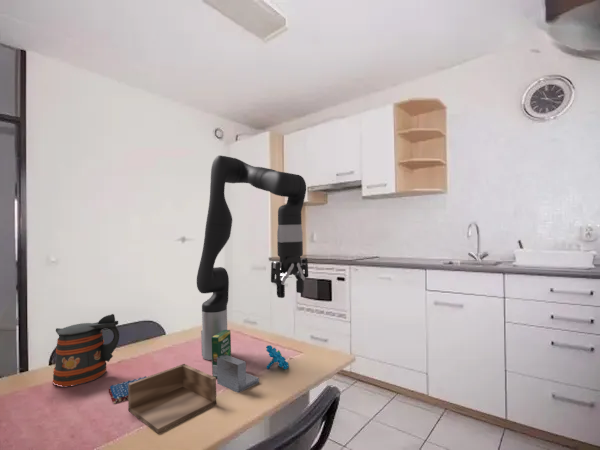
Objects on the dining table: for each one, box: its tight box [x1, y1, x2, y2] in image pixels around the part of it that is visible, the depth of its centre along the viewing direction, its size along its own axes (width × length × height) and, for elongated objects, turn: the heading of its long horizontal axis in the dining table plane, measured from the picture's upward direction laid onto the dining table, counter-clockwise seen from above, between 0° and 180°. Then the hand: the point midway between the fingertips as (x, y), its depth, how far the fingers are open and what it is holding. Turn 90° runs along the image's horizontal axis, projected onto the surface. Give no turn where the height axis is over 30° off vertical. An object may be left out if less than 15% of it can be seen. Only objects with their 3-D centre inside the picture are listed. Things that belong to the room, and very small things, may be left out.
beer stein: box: [52, 313, 120, 386], centre depth 106 cm, size 19×15×20 cm
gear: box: [266, 344, 290, 370], centre depth 108 cm, size 11×6×10 cm
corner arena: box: [127, 363, 217, 434], centre depth 85 cm, size 16×16×7 cm
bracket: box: [216, 355, 260, 394], centre depth 98 cm, size 10×8×8 cm
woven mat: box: [108, 375, 147, 404], centre depth 94 cm, size 10×11×2 cm
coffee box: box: [211, 329, 232, 379], centre depth 105 cm, size 8×3×13 cm, turn 162°
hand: (290, 295), depth 94 cm, fingers open, 8 cm apart
